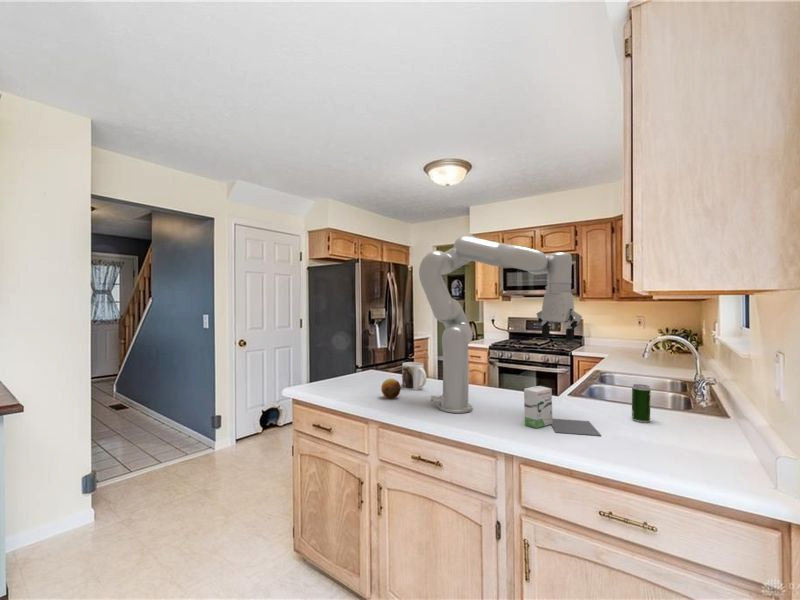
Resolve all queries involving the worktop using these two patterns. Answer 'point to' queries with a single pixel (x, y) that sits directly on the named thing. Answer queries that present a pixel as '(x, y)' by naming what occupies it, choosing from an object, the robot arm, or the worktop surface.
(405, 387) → the mug
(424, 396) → the worktop surface
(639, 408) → the beer can
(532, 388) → the ink box
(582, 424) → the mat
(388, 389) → the fruit
